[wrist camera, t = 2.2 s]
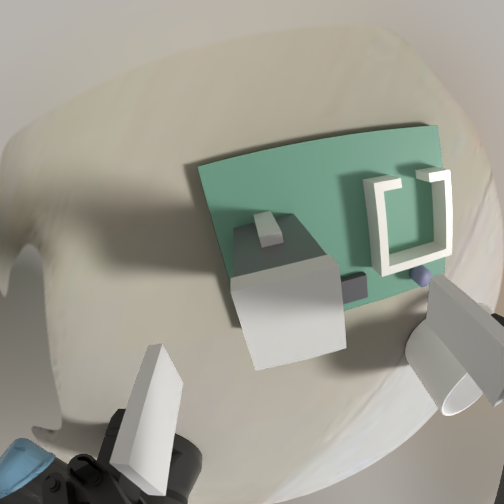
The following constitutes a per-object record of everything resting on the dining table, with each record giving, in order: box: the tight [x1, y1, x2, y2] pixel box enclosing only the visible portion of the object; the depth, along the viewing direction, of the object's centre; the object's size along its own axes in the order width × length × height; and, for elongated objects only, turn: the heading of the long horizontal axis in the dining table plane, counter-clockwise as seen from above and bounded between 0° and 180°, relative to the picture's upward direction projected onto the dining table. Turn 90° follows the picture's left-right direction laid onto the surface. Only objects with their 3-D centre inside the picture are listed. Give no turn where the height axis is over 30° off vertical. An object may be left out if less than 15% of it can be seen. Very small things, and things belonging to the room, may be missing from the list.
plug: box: [231, 211, 346, 371], centre depth 20 cm, size 5×6×11 cm
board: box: [198, 126, 445, 311], centre depth 24 cm, size 22×16×3 cm
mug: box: [405, 303, 495, 416], centre depth 26 cm, size 12×8×10 cm
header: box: [363, 167, 452, 277], centre depth 23 cm, size 8×8×2 cm
